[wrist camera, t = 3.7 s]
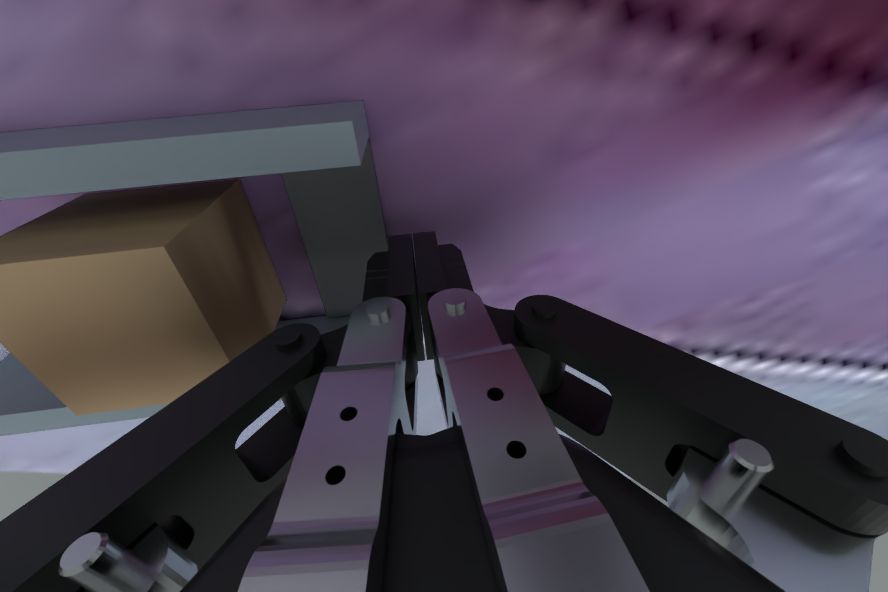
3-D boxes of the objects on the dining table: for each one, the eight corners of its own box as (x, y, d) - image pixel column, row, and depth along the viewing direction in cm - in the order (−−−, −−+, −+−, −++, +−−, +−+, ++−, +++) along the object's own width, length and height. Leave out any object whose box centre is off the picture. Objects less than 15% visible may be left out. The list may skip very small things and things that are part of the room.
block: (85, 194, 12) (-74, 272, 8) (240, 178, 12) (163, 246, 8) (163, 313, 15) (76, 415, 11) (287, 298, 15) (248, 393, 11)
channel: (-199, 150, 10) (-422, 191, 8) (363, 100, 11) (352, 121, 8) (28, 369, 16) (-53, 442, 13) (401, 324, 16) (402, 384, 14)
